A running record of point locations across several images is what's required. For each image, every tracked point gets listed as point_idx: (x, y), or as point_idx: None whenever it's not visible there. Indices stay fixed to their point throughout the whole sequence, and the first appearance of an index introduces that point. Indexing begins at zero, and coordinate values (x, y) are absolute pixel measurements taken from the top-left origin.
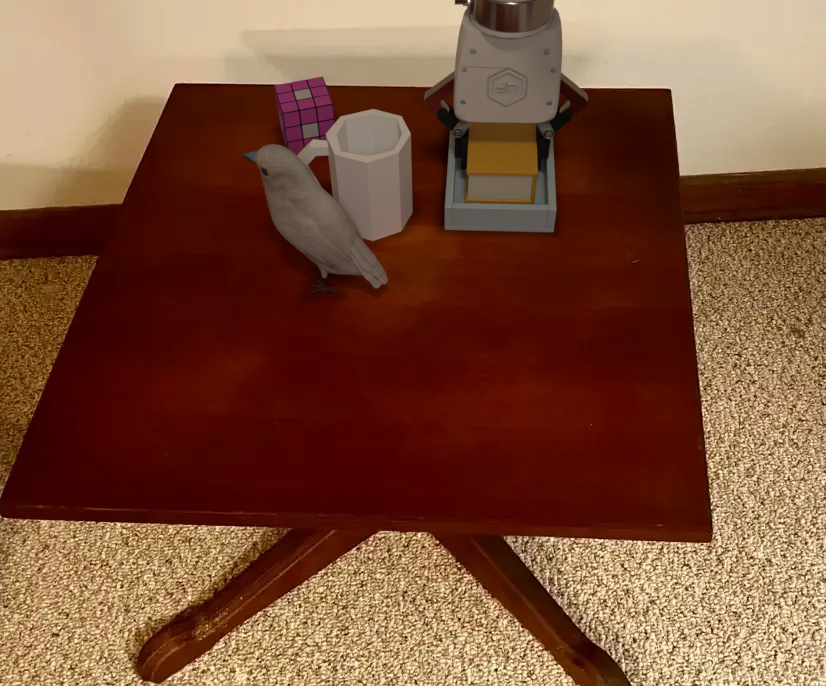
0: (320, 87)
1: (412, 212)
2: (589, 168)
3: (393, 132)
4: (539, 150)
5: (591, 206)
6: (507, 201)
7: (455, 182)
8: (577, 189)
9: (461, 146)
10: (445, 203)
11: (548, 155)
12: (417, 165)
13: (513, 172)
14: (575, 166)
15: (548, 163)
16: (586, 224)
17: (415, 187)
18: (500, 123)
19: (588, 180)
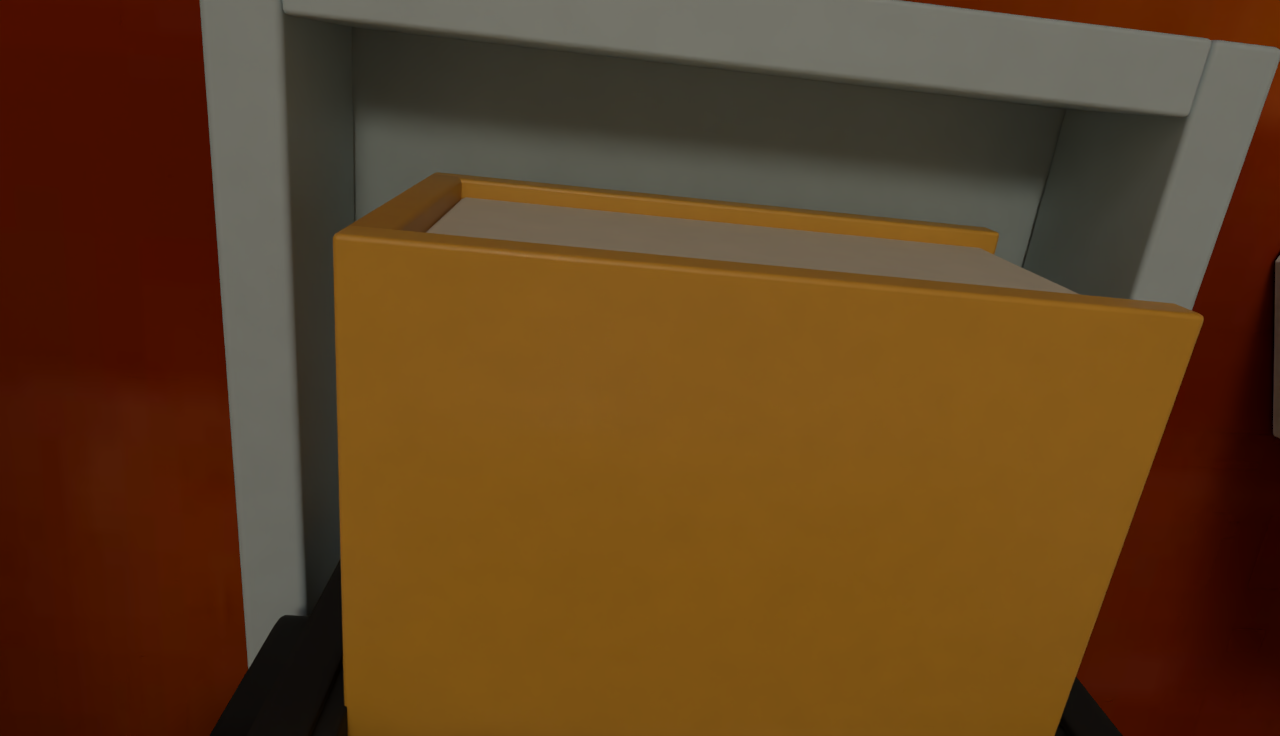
0: None
1: (1276, 260)
2: (69, 614)
3: None
4: (327, 653)
5: (21, 249)
6: (658, 198)
7: None
8: (137, 428)
9: (1106, 719)
10: (1259, 110)
11: (269, 636)
12: (1116, 672)
13: (647, 265)
14: (162, 634)
15: (288, 576)
16: (42, 43)
17: (1182, 495)
18: None
19: (67, 509)
